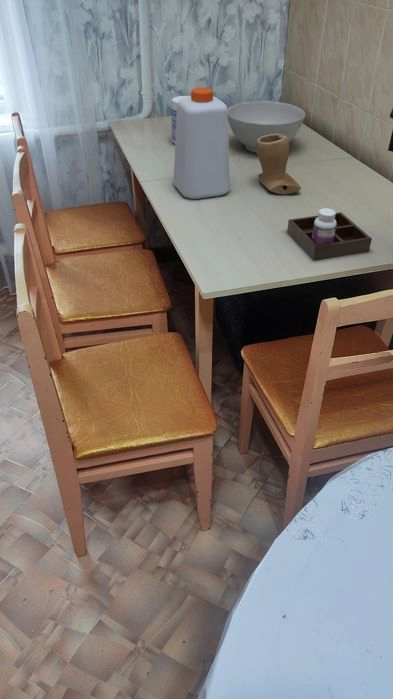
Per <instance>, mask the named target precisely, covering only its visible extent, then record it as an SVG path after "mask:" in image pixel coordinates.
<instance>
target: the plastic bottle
mask: <svg viewBox="0 0 393 699" xmlns="http://www.w3.org/2000/svg"><path fill="white" fill-rule="evenodd" d="M190 96H191V97H188V98H182V99H180V100H179V101H178V103H177V119H176V141H175V144H174V164H173V184H174V186H175V188H176V189H177V190H178V191H179V193H180V194H181V195H182V196H183V197H185V199H190V200H198V199H199V200H200V199H205V198H212V197H219V196H224V195H225V194H228V192H229V191H230V186H231V185H230V154H229V152H230V150H229V122H228V110H227V109H228V106H227V104H225V103H224V102H223V101H222V100H221V99H220V98H218V97H216V96H214V90H213V89H212V88H209V87H196V88H195V87H194V88H193V89H192V90H191V91H190Z"/></svg>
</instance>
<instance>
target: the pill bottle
mask: <svg viewBox="0 0 393 699" xmlns="http://www.w3.org/2000/svg"><path fill="white" fill-rule="evenodd" d="M336 213H337V212H336V211H335V209H332V208H329V207H328V208H327V207H325V208H324V207H323V208H320V209H319V210H318V214H317V216H318V217H317V218H316V219H315V222H314V228H313V234H312V241H313V242H314V243H315V244H316V245H324V244H330V243H333V241H334V235H335V230H336V224H337V222H336V220H335V219H334V218H335V214H336Z"/></svg>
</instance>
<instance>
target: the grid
mask: <svg viewBox="0 0 393 699" xmlns="http://www.w3.org/2000/svg"><path fill="white" fill-rule="evenodd" d="M317 217H318V215H312V216H304V217H297V218H291V219H288V222H287V231H286V232H287V235H289V236H290V237H291V238H292V239H293V240H294V241H295V243H297V244H298V245H299V246H300V248H301V249H302V250H303V251H304V252H305V253H306V254H307V256H309V258H311V259H312V260H313V261H319V260H323V259H330V258H331V259H332V258H337V257H343V256H349V255H355V254H359V253H361V254H362V253H366V252H370V248H371V243H372V237H371V236H370V235H369V234H367V233H366V232H365V231H364V230H363V229H361V227H360V226H358V225H357V224H356V223H354V222H353V221H352V220H351V219H350V218H349V217H348V216H347V215H345V214H344V213H343V212H341V211H339V212H336V214H335V218H334V219H335V220H336V222H337V224H336V230H335V235H334V241H333V243H330V244H324V245H316V244H315V243H314V242H313V241H312V234H313V228H314V222H315V219H316V218H317Z"/></svg>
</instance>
